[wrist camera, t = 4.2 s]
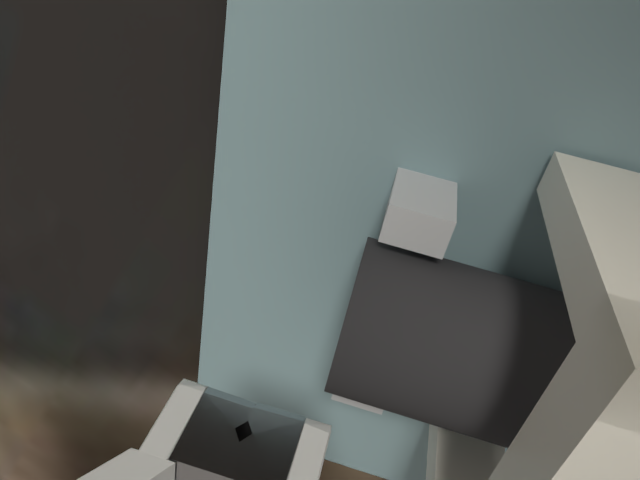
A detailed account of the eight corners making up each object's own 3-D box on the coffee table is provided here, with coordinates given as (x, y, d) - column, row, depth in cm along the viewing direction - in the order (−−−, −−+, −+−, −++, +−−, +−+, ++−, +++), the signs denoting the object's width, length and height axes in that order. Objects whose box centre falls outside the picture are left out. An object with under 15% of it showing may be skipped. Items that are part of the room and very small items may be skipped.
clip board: (255, -150, 11) (197, -164, 9) (1071, 30, 10) (1275, 72, 7) (205, 397, 21) (171, 462, 19) (606, 524, 20) (626, 612, 17)
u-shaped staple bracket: (554, 151, 12) (635, 368, 6) (644, 174, 12) (809, 419, 6) (429, 415, 17) (413, 660, 12) (490, 433, 17) (504, 692, 11)
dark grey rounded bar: (375, 208, 14) (348, 304, 11) (727, 305, 13) (813, 440, 10) (344, 318, 16) (314, 424, 13) (642, 406, 15) (690, 543, 12)
